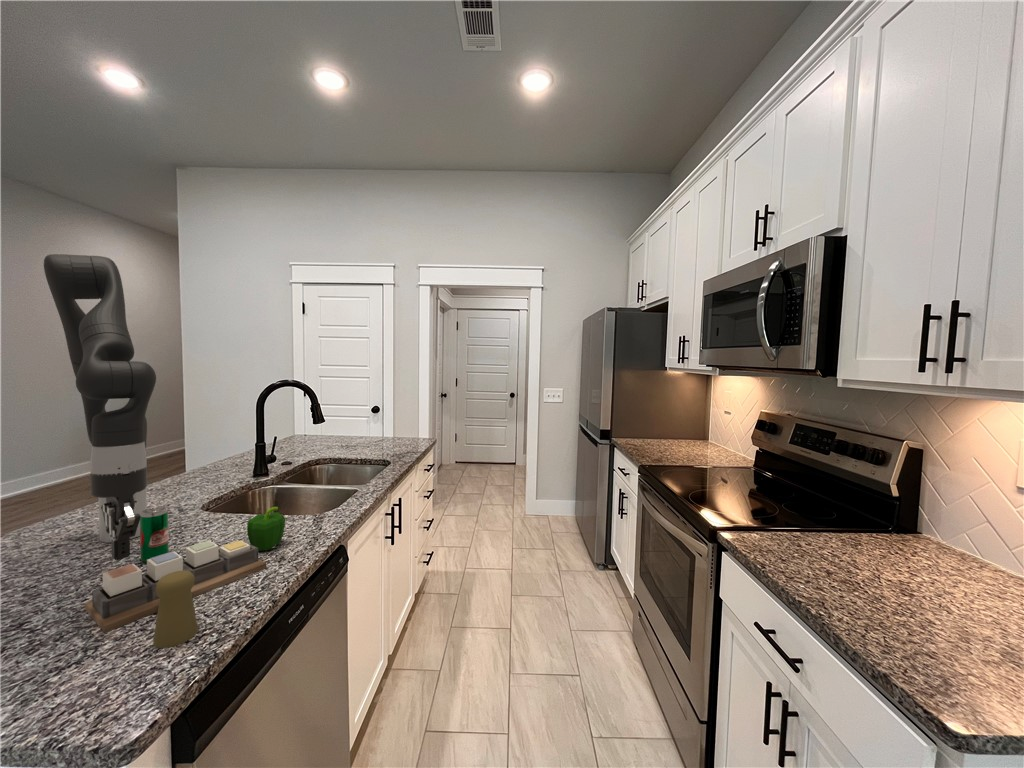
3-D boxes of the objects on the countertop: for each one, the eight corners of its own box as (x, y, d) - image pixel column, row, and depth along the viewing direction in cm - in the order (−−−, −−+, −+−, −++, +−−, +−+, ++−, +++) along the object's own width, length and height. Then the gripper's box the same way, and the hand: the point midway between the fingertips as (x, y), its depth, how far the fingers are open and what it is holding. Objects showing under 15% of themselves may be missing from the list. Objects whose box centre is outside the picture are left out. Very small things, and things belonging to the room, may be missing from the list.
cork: (170, 625, 72) (170, 565, 72) (206, 624, 73) (205, 565, 72) (143, 648, 66) (141, 584, 66) (181, 647, 67) (181, 583, 66)
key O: (102, 588, 75) (102, 571, 75) (134, 578, 79) (133, 562, 79) (110, 596, 73) (110, 579, 73) (142, 585, 77) (141, 568, 77)
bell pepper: (244, 557, 98) (244, 517, 97) (249, 543, 105) (248, 506, 104) (284, 550, 101) (284, 512, 101) (285, 537, 109) (285, 501, 108)
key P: (219, 560, 92) (219, 546, 92) (240, 552, 96) (240, 539, 95) (228, 565, 89) (228, 551, 89) (250, 557, 93) (250, 544, 93)
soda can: (151, 564, 93) (151, 514, 92) (134, 562, 94) (133, 512, 93) (174, 554, 98) (173, 506, 97) (157, 552, 99) (156, 504, 98)
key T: (147, 574, 81) (146, 558, 81) (174, 565, 85) (174, 550, 84) (155, 580, 78) (155, 564, 78) (182, 571, 82) (182, 555, 82)
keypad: (84, 609, 76) (84, 587, 76) (241, 553, 99) (240, 537, 99) (104, 632, 70) (103, 609, 70) (266, 568, 93) (266, 550, 93)
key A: (185, 561, 86) (185, 546, 86) (209, 553, 90) (209, 539, 90) (194, 567, 84) (194, 552, 84) (218, 559, 88) (218, 544, 87)
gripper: (80, 465, 75) (82, 556, 76) (102, 477, 68) (104, 576, 69) (133, 458, 82) (135, 541, 82) (158, 468, 75) (159, 559, 75)
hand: (121, 557), depth 76 cm, fingers closed
